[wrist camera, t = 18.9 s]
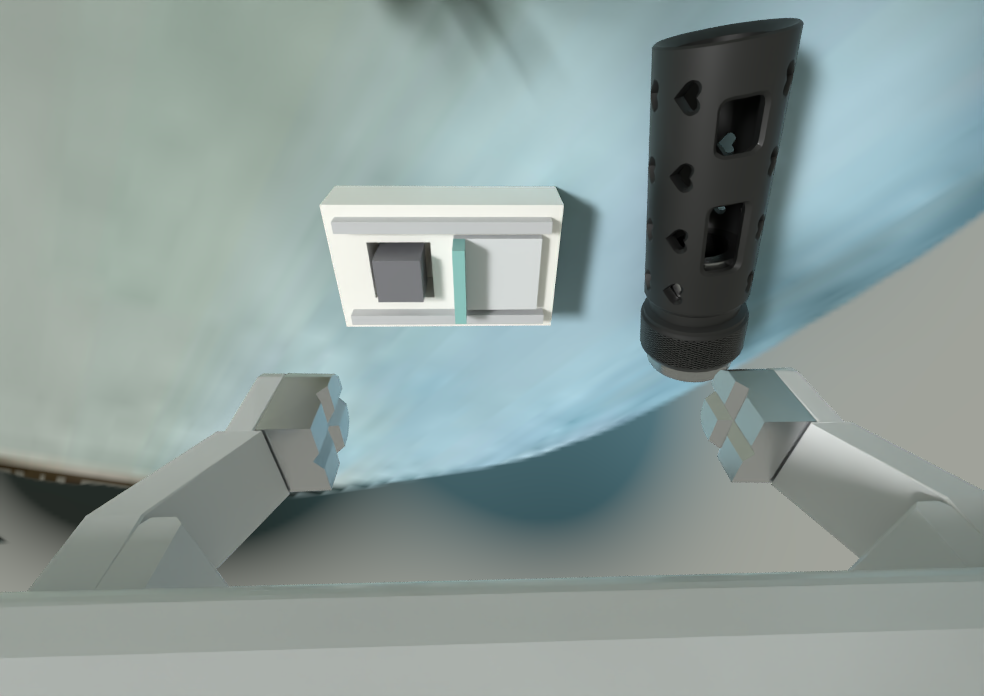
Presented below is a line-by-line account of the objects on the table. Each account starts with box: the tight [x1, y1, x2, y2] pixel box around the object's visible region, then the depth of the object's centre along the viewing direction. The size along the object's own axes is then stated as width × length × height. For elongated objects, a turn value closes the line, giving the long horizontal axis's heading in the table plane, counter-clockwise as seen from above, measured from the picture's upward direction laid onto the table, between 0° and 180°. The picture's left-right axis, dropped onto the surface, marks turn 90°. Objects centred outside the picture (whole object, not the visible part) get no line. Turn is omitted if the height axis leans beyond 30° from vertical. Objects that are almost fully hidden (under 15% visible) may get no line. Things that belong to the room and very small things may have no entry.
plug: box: [372, 242, 428, 302], centre depth 41 cm, size 4×4×6 cm
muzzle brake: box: [640, 18, 803, 382], centre depth 38 cm, size 10×28×10 cm, turn 10°
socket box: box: [320, 186, 564, 327], centre depth 41 cm, size 12×20×6 cm, turn 89°
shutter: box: [452, 235, 542, 324], centre depth 39 cm, size 7×8×3 cm
